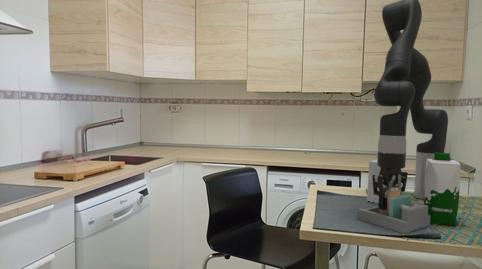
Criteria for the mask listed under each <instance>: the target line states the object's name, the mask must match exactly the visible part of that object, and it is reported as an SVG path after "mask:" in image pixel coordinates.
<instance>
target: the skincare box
mask: <svg viewBox="0 0 482 269" xmlns="http://www.w3.org/2000/svg"><path fill="white" fill-rule="evenodd" d="M380 169H381V168H380V167H379V166H378V165H377V158H376V159H372V160H370V161H368V176H367V177H368V178H367V190H366V191H367V192H366V193H367V194H366V201H367V202H368V201H370V202H369V203H372V202H375V203H374V204H377V203H379V196H378V195H374V192H373V179H372V176H373V175H378V174H379V173H380ZM383 185H384V184H383ZM378 190H379V188H377V191H378Z"/></svg>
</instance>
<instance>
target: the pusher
mask: <svg viewBox="0 0 482 269" xmlns="http://www.w3.org/2000/svg"><path fill="white" fill-rule="evenodd" d="M411 203H412V195H409V194H404V195H400V196H399V197H394V198H390V199H389V216H390V217H393V218H397V219H400V220H401V217H402V209H404V208H408V207H412V205H411Z"/></svg>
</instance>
